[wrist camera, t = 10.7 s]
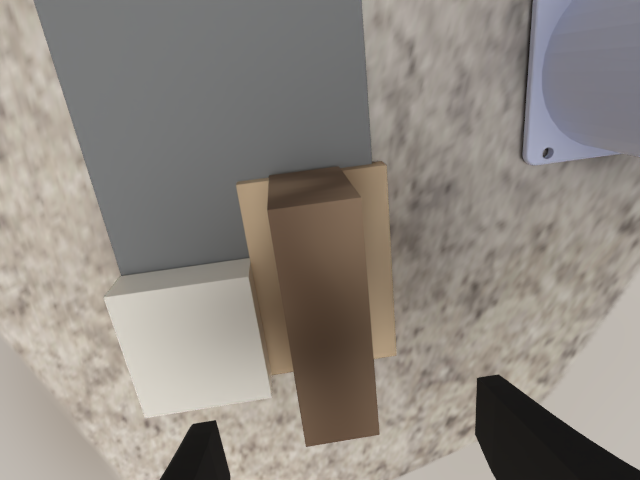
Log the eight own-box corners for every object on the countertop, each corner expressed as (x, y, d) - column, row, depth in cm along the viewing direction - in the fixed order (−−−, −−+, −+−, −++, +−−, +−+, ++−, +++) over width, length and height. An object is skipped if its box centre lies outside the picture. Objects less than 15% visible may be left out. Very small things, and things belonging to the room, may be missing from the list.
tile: (248, 276, 18) (272, 397, 20) (251, 256, 20) (272, 368, 22) (103, 297, 17) (144, 418, 20) (121, 274, 19) (156, 387, 22)
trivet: (381, 161, 19) (386, 165, 18) (391, 345, 23) (396, 355, 22) (237, 179, 19) (235, 184, 18) (271, 363, 22) (271, 375, 22)
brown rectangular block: (338, 166, 18) (361, 197, 13) (357, 357, 22) (379, 434, 17) (268, 175, 18) (267, 210, 13) (299, 367, 22) (306, 447, 17)
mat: (348, -182, 15) (349, -187, 14) (381, 331, 22) (383, 334, 22) (-11, -150, 14) (-16, -155, 14) (153, 366, 22) (151, 369, 21)
